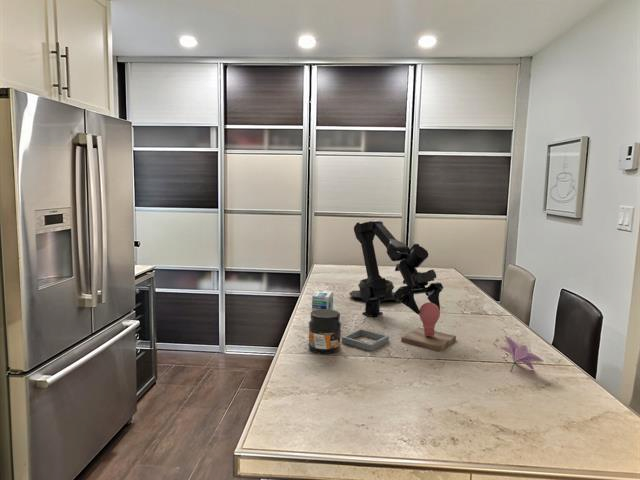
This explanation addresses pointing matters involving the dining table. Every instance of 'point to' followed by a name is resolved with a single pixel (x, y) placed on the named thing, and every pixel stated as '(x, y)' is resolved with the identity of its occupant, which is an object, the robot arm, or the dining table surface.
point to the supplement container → (324, 331)
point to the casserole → (362, 287)
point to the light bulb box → (322, 300)
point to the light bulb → (429, 317)
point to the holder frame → (350, 341)
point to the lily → (520, 353)
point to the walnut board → (428, 339)
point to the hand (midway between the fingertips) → (429, 312)
